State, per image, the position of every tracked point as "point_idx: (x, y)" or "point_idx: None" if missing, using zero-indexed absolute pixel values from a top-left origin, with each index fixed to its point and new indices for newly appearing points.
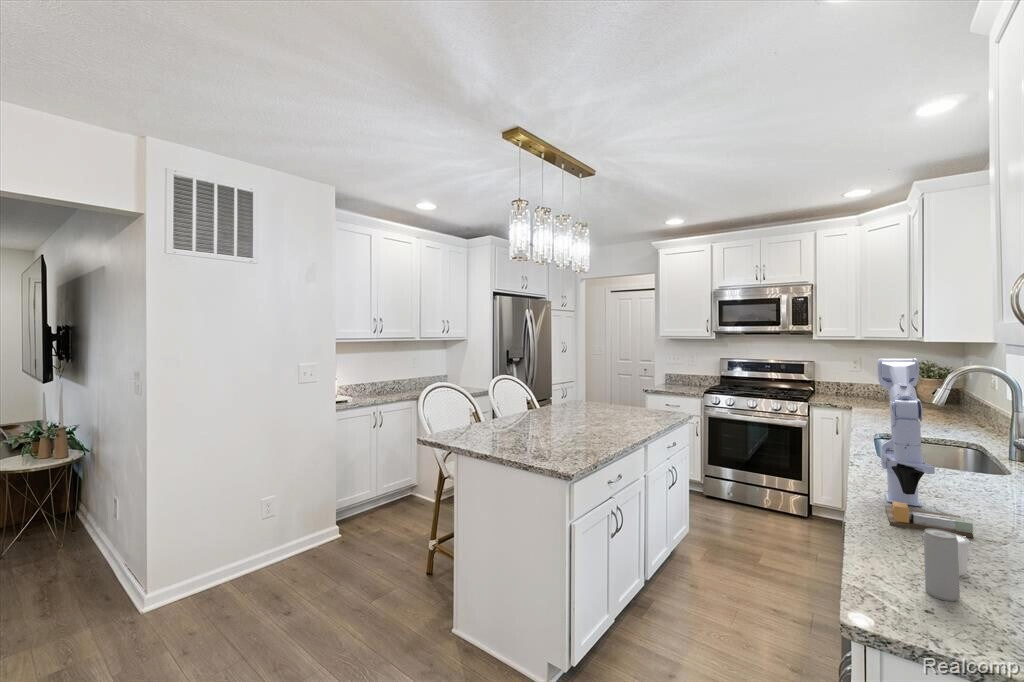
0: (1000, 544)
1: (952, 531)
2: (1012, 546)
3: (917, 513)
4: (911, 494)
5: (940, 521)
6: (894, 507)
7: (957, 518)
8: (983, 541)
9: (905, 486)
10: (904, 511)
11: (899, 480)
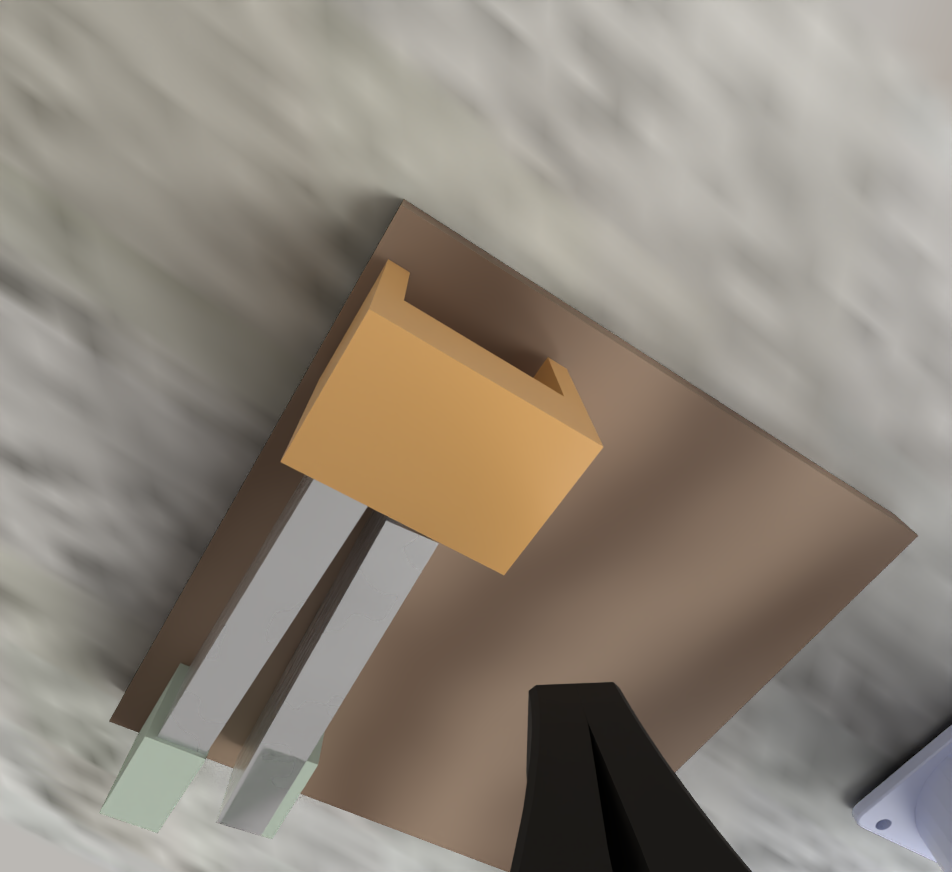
0: (34, 773)
1: (163, 625)
2: (12, 811)
3: (380, 555)
4: (528, 739)
5: (215, 634)
6: (369, 307)
7: (253, 795)
8: (73, 715)
9: (541, 792)
10: (316, 394)
11: (721, 867)
